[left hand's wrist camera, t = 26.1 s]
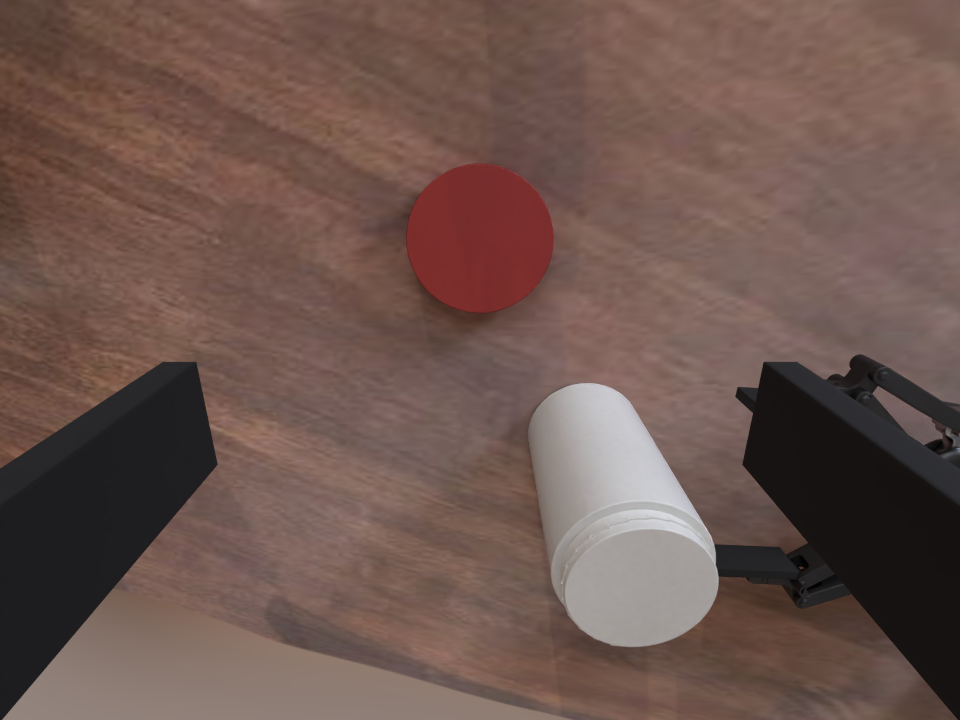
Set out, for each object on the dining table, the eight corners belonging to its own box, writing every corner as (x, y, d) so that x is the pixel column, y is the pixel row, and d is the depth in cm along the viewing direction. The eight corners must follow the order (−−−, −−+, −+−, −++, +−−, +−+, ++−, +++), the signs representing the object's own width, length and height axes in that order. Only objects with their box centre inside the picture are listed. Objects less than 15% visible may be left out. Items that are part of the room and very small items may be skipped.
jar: (540, 374, 43) (577, 508, 27) (652, 392, 43) (754, 533, 27) (518, 472, 46) (538, 643, 30) (622, 487, 47) (697, 663, 31)
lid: (531, 318, 41) (533, 325, 39) (399, 291, 40) (396, 297, 39) (566, 180, 37) (570, 182, 36) (422, 148, 37) (419, 148, 35)
